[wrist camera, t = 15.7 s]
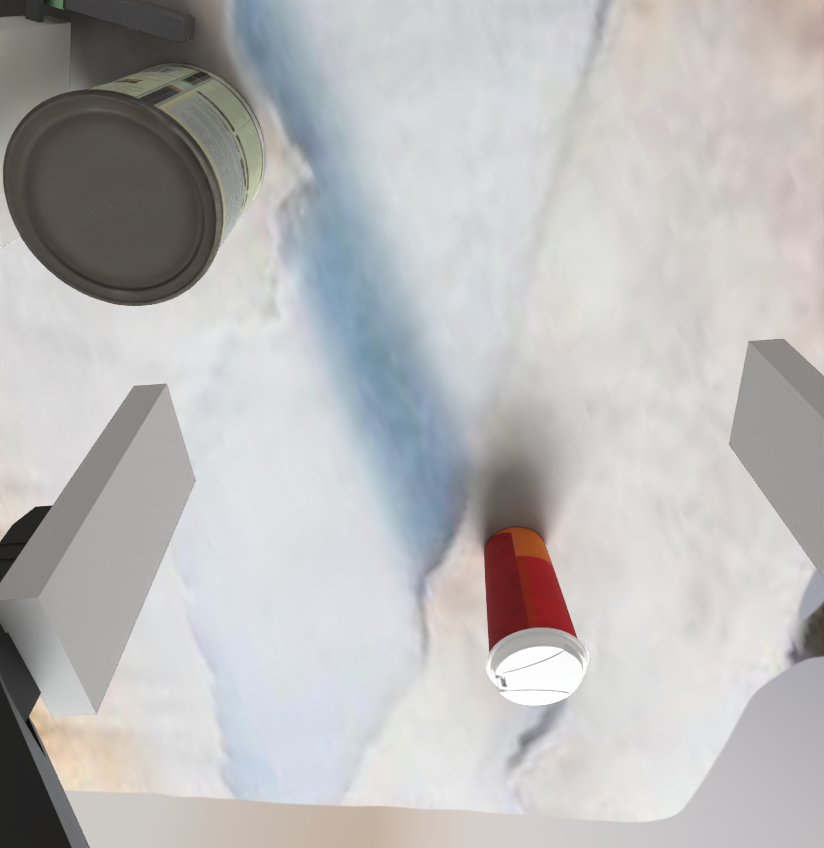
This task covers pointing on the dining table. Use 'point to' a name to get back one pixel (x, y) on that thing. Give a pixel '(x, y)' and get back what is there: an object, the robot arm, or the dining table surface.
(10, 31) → the pressure pad
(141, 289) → the coffee can
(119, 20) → the frame
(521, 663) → the paper cup
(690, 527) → the dining table surface
